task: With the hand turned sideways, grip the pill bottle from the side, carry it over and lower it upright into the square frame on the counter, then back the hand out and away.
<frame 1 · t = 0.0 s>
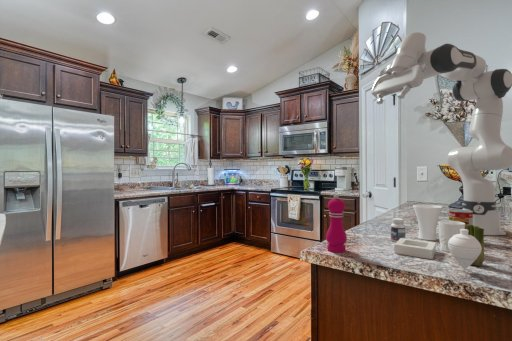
hand: (389, 100, 106), 54 cm above the counter, tool tilted 30°, fingers open, 8 cm apart
cup: (427, 239, 118), on the counter
pill bottle: (397, 241, 115), on the counter
spinning top: (464, 272, 80), on the counter
fennel bulb: (473, 265, 87), on the counter
square frame: (415, 252, 99), on the counter
pepper mill: (336, 250, 102), on the counter
white cup: (451, 250, 101), on the counter
canned food: (460, 240, 115), on the counter
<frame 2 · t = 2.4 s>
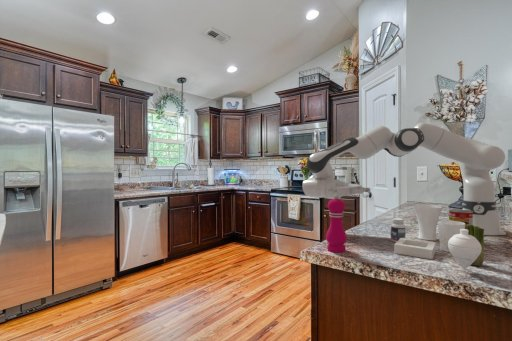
hand: (366, 190, 122), 20 cm above the counter, tool horizontal, fingers open, 8 cm apart
nothing on the counter moved.
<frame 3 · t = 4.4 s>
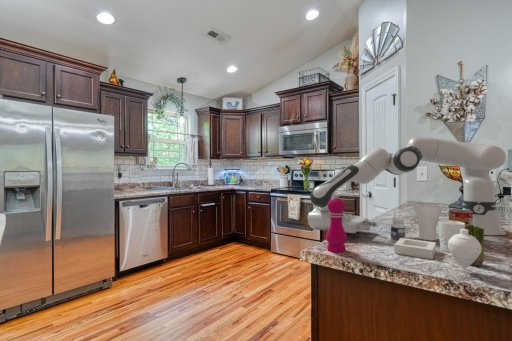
hand: (373, 226, 120), 5 cm above the counter, tool horizontal, fingers open, 8 cm apart
nothing on the counter moved.
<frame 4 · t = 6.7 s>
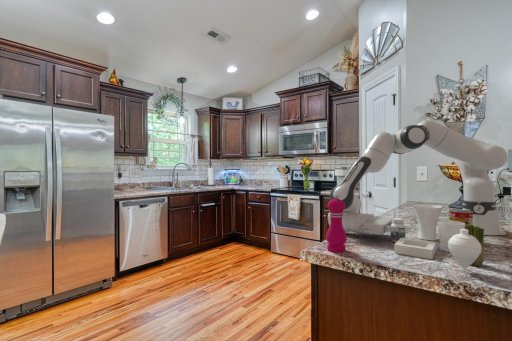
hand: (400, 227, 114), 5 cm above the counter, tool horizontal, fingers closed on pill bottle, 5 cm apart
pill bottle: (397, 241, 115), on the counter, touching gripper
everything else where it was.
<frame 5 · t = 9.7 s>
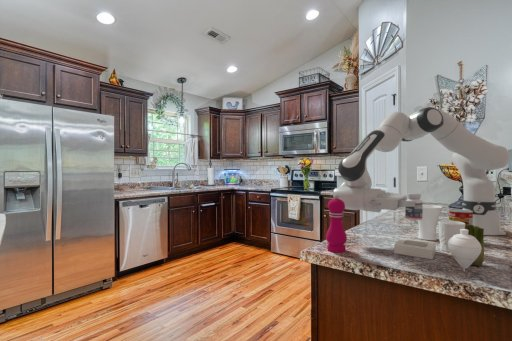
hand: (416, 203, 99), 17 cm above the counter, tool horizontal, fingers closed on pill bottle, 5 cm apart
pill bottle: (413, 219, 100), point 11 cm above the counter, touching gripper
everything else where it was.
when the fingers open (7 cm above the counter, at t = 12.6 s): pill bottle drops 1 cm, resting in square frame.
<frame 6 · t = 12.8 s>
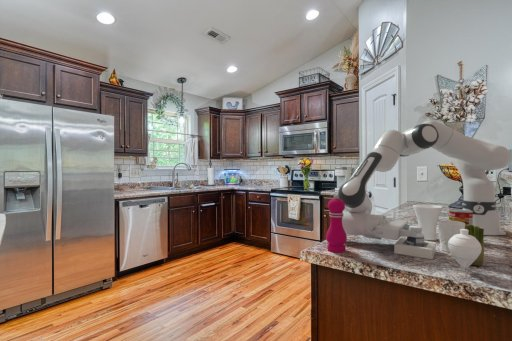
hand: (418, 231, 99), 7 cm above the counter, tool horizontal, fingers open, 8 cm apart
pill bottle: (415, 252, 99), resting in square frame
everything else where it was.
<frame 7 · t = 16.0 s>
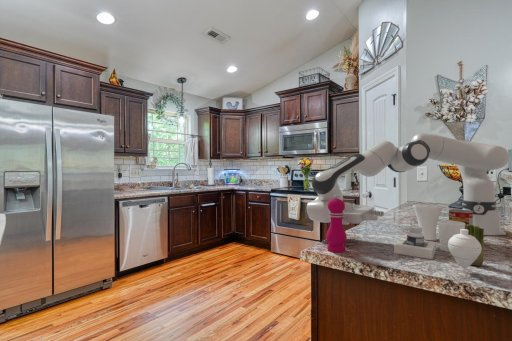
hand: (380, 215, 106), 11 cm above the counter, tool horizontal, fingers open, 8 cm apart
nothing on the counter moved.
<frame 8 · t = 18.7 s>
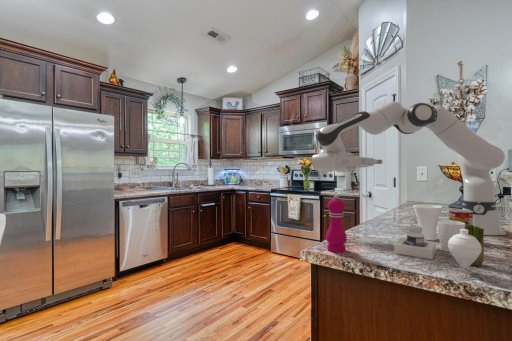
hand: (379, 161, 118), 32 cm above the counter, tool horizontal, fingers open, 8 cm apart
nothing on the counter moved.
at the end: pill bottle 0.1 cm off-centre on the square frame, point 0.0 cm above the square frame's base; pill bottle tilted 0°; the gripper is holding nothing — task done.
